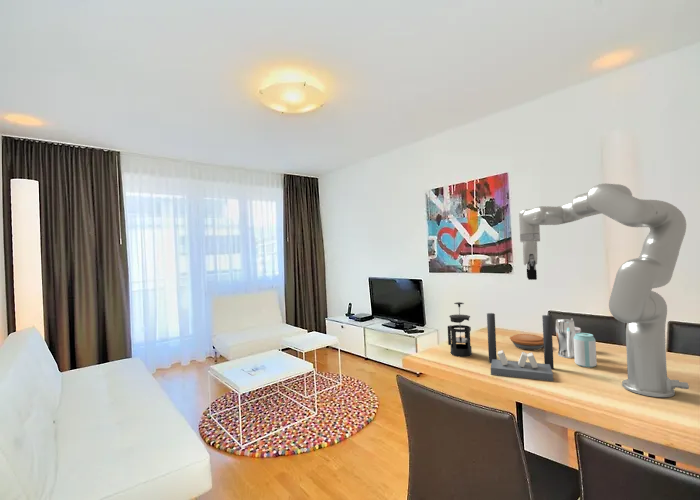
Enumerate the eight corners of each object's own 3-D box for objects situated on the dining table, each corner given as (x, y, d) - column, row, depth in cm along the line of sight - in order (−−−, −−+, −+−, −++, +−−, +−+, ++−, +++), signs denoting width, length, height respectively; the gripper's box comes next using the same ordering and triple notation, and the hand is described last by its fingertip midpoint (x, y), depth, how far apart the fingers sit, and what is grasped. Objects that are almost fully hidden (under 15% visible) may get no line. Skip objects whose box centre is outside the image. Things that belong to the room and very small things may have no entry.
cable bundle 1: (497, 361, 141) (494, 313, 141) (496, 364, 138) (494, 314, 138) (489, 361, 142) (487, 313, 142) (488, 363, 139) (486, 314, 140)
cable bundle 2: (553, 367, 132) (550, 315, 132) (554, 369, 129) (551, 316, 130) (544, 366, 133) (542, 315, 134) (545, 368, 131) (542, 316, 131)
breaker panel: (550, 370, 128) (549, 364, 128) (553, 381, 118) (552, 374, 118) (492, 365, 137) (492, 359, 137) (490, 374, 127) (490, 367, 127)
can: (573, 361, 138) (572, 331, 138) (594, 363, 135) (593, 332, 135) (576, 367, 132) (574, 335, 132) (598, 369, 128) (597, 337, 129)
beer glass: (579, 358, 141) (577, 322, 141) (560, 358, 142) (559, 322, 143) (571, 353, 148) (570, 318, 148) (554, 353, 149) (552, 318, 149)
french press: (478, 354, 152) (475, 302, 152) (464, 358, 147) (462, 305, 147) (456, 348, 162) (454, 300, 162) (443, 352, 156) (440, 302, 157)
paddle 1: (507, 361, 131) (502, 350, 132) (507, 364, 128) (502, 352, 128) (502, 362, 132) (498, 351, 133) (502, 365, 128) (497, 354, 129)
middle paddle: (523, 364, 129) (527, 353, 128) (523, 367, 125) (527, 356, 125) (518, 362, 130) (522, 351, 129) (518, 365, 126) (522, 354, 126)
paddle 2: (537, 363, 127) (532, 352, 128) (537, 367, 123) (532, 355, 124) (532, 365, 128) (527, 353, 128) (532, 368, 124) (527, 356, 125)
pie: (507, 348, 159) (506, 338, 159) (513, 341, 172) (512, 331, 172) (545, 353, 150) (544, 341, 150) (548, 344, 163) (548, 334, 163)
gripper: (519, 239, 155) (521, 277, 155) (520, 238, 139) (522, 280, 139) (538, 238, 152) (540, 277, 152) (541, 237, 136) (543, 280, 136)
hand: (531, 278), depth 145 cm, fingers open, 9 cm apart
